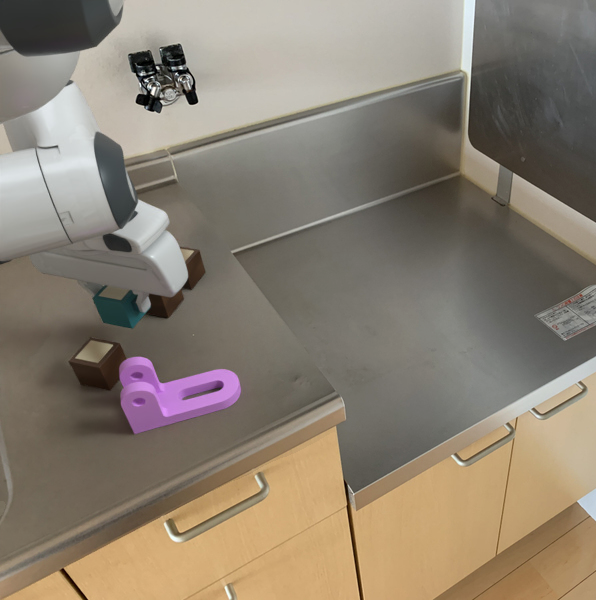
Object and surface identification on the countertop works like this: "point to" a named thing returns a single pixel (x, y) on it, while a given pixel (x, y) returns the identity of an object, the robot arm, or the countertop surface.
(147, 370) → the bracket
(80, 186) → the robot arm
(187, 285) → the block
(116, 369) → the block
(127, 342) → the countertop surface
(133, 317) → the letter block
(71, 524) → the countertop surface
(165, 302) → the block
